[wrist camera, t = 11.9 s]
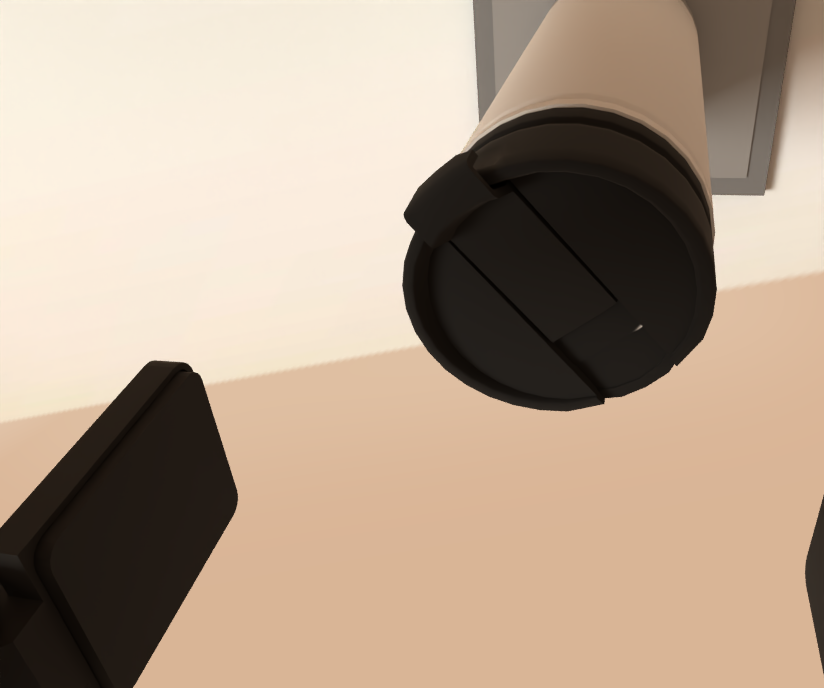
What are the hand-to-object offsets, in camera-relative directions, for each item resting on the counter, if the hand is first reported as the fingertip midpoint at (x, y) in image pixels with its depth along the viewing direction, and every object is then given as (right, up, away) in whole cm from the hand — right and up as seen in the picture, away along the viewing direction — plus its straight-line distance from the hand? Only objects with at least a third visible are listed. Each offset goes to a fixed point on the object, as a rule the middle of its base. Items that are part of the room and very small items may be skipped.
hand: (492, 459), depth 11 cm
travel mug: (+7, +14, +19) cm, 25 cm away
